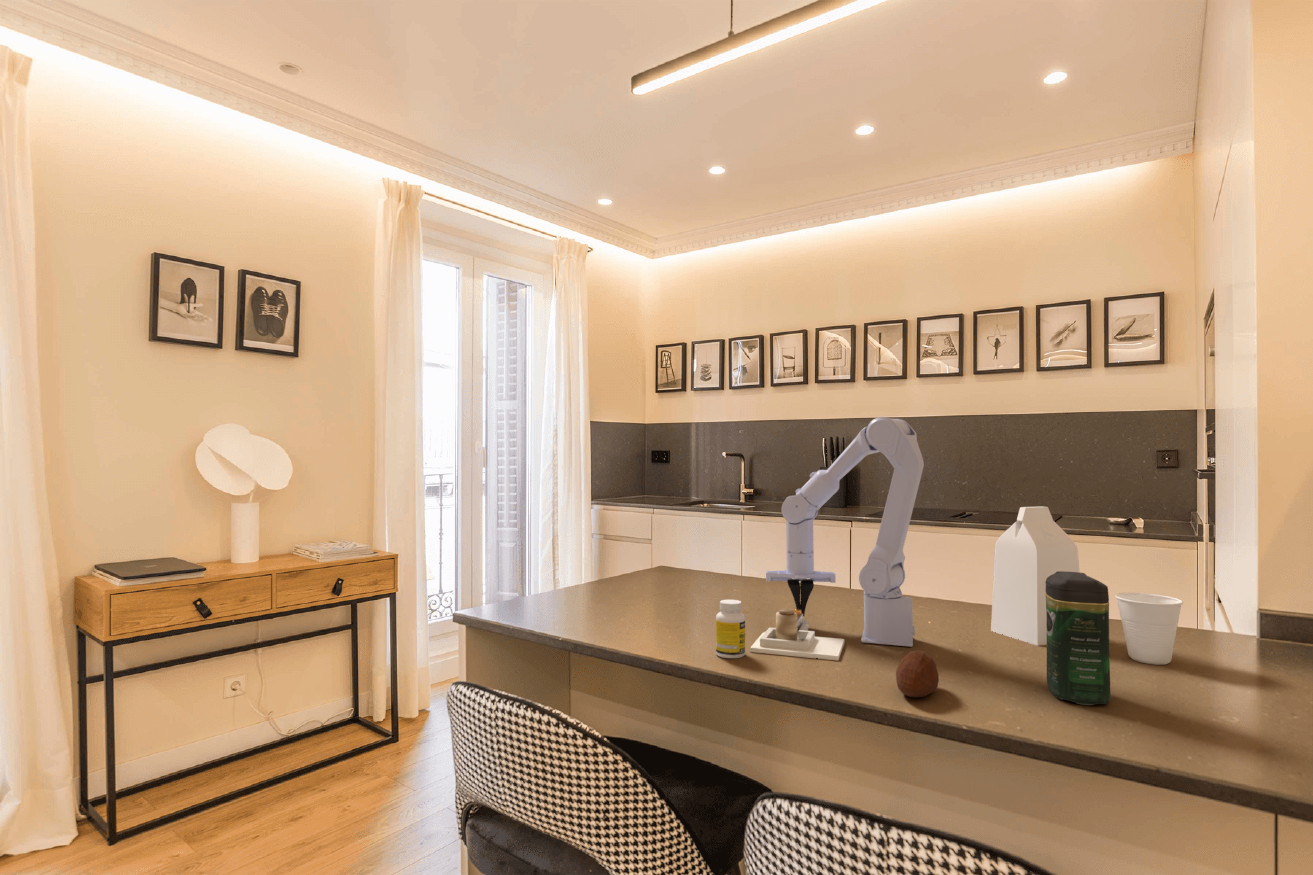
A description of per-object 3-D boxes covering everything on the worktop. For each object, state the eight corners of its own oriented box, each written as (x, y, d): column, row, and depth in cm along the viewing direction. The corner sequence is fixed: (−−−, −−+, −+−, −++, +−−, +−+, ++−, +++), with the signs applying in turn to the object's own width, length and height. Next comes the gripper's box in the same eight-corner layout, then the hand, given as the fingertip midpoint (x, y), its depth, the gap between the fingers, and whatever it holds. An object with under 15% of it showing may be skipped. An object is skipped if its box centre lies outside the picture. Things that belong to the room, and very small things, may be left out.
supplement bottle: (744, 660, 123) (743, 605, 123) (714, 658, 124) (713, 604, 124) (746, 651, 128) (746, 599, 128) (717, 649, 129) (717, 597, 129)
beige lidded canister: (797, 645, 132) (797, 608, 132) (796, 650, 128) (796, 613, 128) (777, 643, 133) (776, 607, 133) (775, 649, 129) (775, 612, 129)
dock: (848, 630, 142) (848, 620, 143) (838, 660, 122) (838, 648, 122) (772, 624, 148) (772, 614, 148) (750, 651, 127) (750, 640, 128)
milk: (1035, 626, 146) (1033, 504, 146) (1084, 640, 135) (1081, 508, 135) (990, 631, 142) (988, 505, 143) (1037, 645, 131) (1035, 510, 132)
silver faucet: (803, 625, 143) (802, 608, 143) (797, 635, 136) (796, 616, 136) (794, 624, 144) (794, 607, 144) (788, 634, 136) (787, 616, 137)
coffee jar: (1118, 710, 98) (1115, 580, 98) (1055, 703, 100) (1053, 577, 101) (1099, 688, 107) (1097, 569, 107) (1042, 683, 110) (1040, 567, 110)
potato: (887, 701, 102) (887, 658, 102) (904, 679, 112) (903, 640, 112) (930, 709, 99) (930, 664, 99) (943, 686, 108) (943, 645, 109)
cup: (1123, 648, 128) (1121, 590, 129) (1189, 659, 121) (1187, 597, 122) (1110, 660, 122) (1108, 598, 122) (1179, 672, 114) (1177, 606, 115)
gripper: (766, 553, 143) (767, 618, 143) (837, 554, 142) (837, 620, 141) (765, 549, 150) (765, 611, 150) (832, 550, 149) (833, 612, 148)
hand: (800, 615), depth 146 cm, fingers closed
